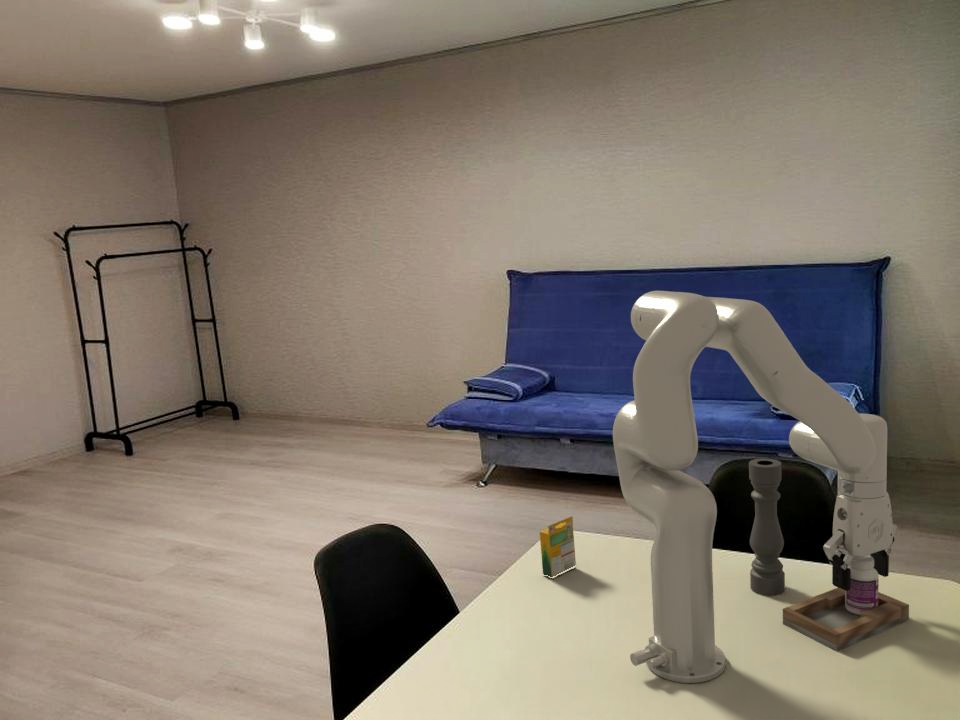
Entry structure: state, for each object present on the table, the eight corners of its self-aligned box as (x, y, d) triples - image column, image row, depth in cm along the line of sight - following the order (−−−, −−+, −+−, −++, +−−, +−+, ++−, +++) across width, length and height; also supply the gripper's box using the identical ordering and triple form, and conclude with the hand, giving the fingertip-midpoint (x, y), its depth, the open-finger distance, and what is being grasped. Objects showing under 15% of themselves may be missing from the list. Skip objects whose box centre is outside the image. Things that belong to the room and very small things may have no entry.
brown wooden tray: (836, 651, 128) (836, 635, 127) (782, 623, 138) (782, 608, 137) (908, 619, 136) (909, 604, 135) (853, 595, 145) (853, 581, 145)
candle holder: (779, 598, 147) (776, 469, 143) (746, 591, 150) (742, 465, 146) (789, 585, 151) (787, 460, 147) (756, 579, 155) (753, 456, 151)
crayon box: (566, 564, 169) (563, 512, 167) (576, 568, 166) (573, 516, 165) (542, 575, 164) (538, 522, 162) (552, 579, 162) (548, 526, 160)
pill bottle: (884, 616, 136) (884, 563, 134) (853, 617, 136) (853, 565, 134) (869, 601, 141) (869, 550, 139) (839, 603, 141) (839, 552, 140)
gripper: (845, 502, 128) (844, 601, 130) (915, 482, 135) (912, 576, 138) (807, 490, 134) (807, 585, 137) (875, 471, 142) (874, 561, 144)
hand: (860, 580), depth 137 cm, fingers open, 9 cm apart
